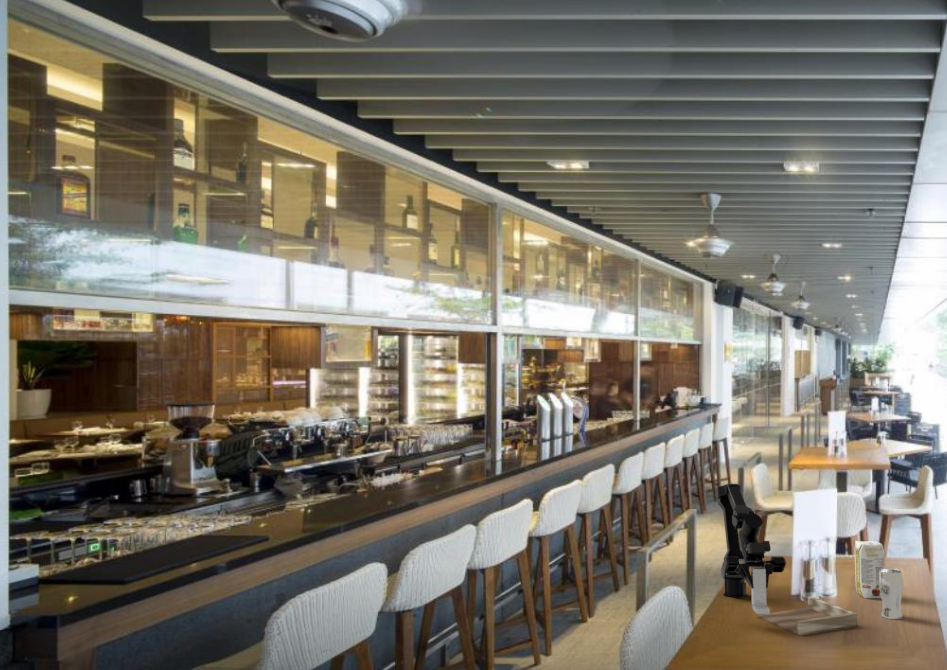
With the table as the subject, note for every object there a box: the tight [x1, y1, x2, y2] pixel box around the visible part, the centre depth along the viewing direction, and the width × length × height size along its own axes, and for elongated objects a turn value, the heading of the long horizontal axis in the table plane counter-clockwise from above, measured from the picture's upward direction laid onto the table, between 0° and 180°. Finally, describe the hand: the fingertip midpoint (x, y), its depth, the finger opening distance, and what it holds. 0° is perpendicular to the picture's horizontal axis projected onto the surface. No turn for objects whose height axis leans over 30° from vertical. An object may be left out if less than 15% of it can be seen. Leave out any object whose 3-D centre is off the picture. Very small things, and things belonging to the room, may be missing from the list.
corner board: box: [756, 596, 858, 637], centre depth 266 cm, size 20×22×4 cm
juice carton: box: [854, 540, 886, 599], centre depth 292 cm, size 8×9×19 cm
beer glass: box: [879, 567, 904, 620], centre depth 269 cm, size 7×7×15 cm
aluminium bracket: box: [750, 567, 771, 615], centre depth 261 cm, size 6×4×13 cm, turn 175°
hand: (759, 588), depth 261 cm, fingers closed on aluminium bracket, 4 cm apart
